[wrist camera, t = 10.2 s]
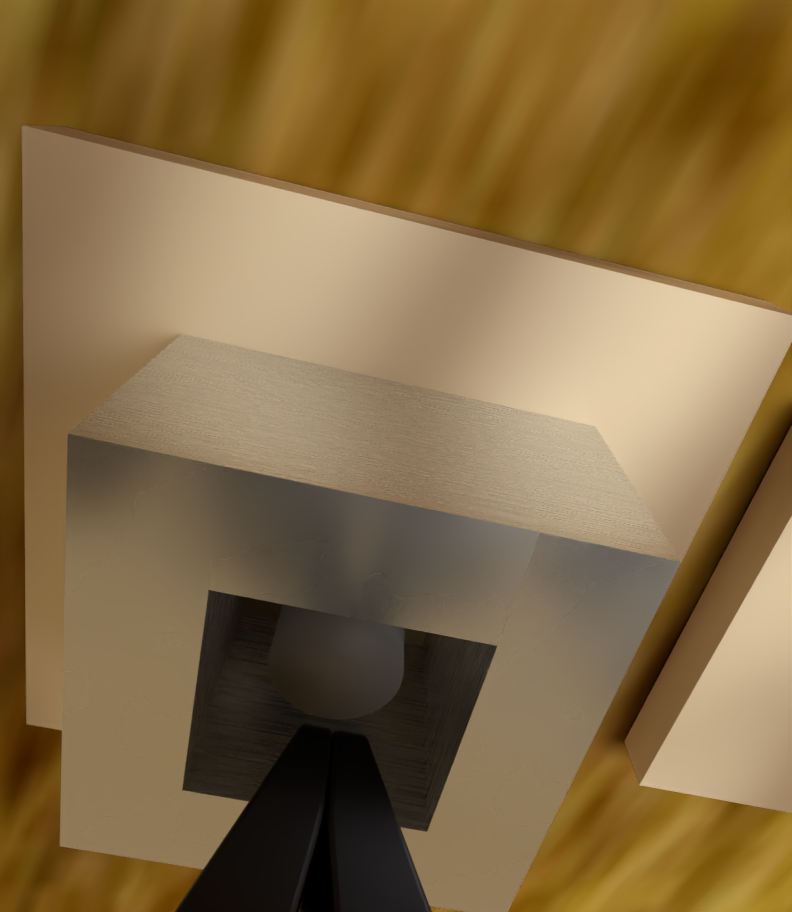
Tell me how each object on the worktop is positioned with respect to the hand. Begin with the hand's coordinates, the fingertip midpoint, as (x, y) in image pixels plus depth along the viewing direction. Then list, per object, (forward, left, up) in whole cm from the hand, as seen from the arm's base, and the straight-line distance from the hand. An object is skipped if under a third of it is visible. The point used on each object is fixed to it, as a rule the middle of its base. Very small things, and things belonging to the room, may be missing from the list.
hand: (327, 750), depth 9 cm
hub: (0, 0, -6) cm, 6 cm away
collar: (0, 0, -4) cm, 4 cm away
